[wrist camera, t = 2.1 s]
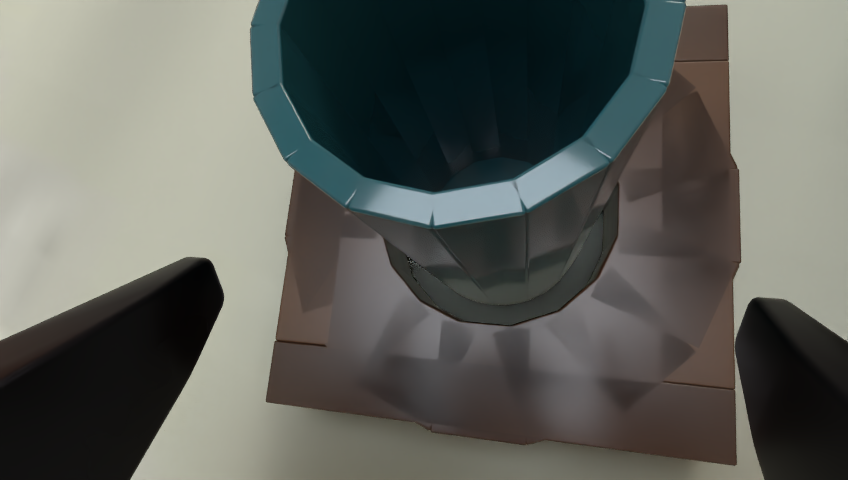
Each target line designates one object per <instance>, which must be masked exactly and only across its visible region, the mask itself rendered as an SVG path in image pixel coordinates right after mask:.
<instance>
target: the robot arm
mask: <svg viewBox="0 0 848 480" xmlns="http://www.w3.org/2000/svg"><path fill="white" fill-rule="evenodd" d="M223 302H224V293H223V289H222V287H221V284H220V282H219V279H218V276H217V274H216V271H215V268H214V266H213V264H212V262H211V261H210V260H209V259H206V258H198V257H186V258H183V259H181V260H179V261H177V262H174V263H172V264H170V265H168V266H165V267H163V268H161V269H159V270H157V271H154V272H152V273H150V274H148V275H145V276H143V277H141V278H139V279H137V280H134V281H132V282H130V283H128V284H125V285H123V286H121V287H119V288H117V289H114V290H112V291H110V292H108V293H105V294H103V295H101V296H99V297H97V298H94V299H92V300H90V301H88V302H85V303H83V304H81V305H79V306H77V307H74V308H72V309H70V310H68V311H65V312H63V313H61V314H59V315H57V316H54V317H52V318H50V319H48V320H45V321H43V322H41V323H39V324H37V325H34V326H32V327H30V328H28V329H25V330H23V331H21V332H19V333H17V334H14V335H12V336H10V337H8V338H5V339H3V340H1V341H0V480H130V479H131V477H132V475H133V474H134V472H135V470H136V469H137V467H138V465H139V463H140V462H141V460H142V458H143V457H144V455H145V453H146V451H147V450H148V448H149V446H150V445H151V443H152V441H153V439H154V438H155V436H156V434H157V432H158V431H159V429H160V427H161V426H162V424H163V422H164V420H165V419H166V417H167V415H168V414H169V412H170V410H171V408H172V407H173V405H174V403H175V402H176V400H177V398H178V396H179V395H180V393H181V391H182V390H183V388H184V386H185V384H186V382H187V381H188V379H189V377H190V375H191V373H192V371H193V369H194V367H195V365H196V363H197V361H198V358H199V356H200V354H201V352H202V350H203V347H204V345H205V343H206V341H207V339H208V337H209V334H210V332H211V330H212V328H213V326H214V323H215V321H216V319H217V317H218V315H219V312H220V310H221V308H222V305H223ZM735 353H736V358H737V364H738V369H739V374H740V379H741V384H742V389H743V394H744V399H745V404H746V409H747V414H748V419H749V424H750V429H751V434H752V438H753V443H754V447H755V450H756V454H757V457H758V460H759V464H760V467H761V470H762V473H763V476H764V479H765V480H848V342H847V341H845V340H844V339H842V338H841V337H840V336H838V335H837V334H835V333H834V332H832V331H831V330H829V329H828V328H827V327H825V326H824V325H822V324H821V323H819V322H818V321H816V320H815V319H813V318H812V317H811V316H809V315H808V314H806V313H805V312H803V311H802V310H800V309H799V308H797V307H796V306H795V305H793V304H792V303H790V302H788V301H787V300H784V299H775V298H761V297H757V298H754V299H752V300H751V301H750V303H749V304H748V307H747V309H746V312H745V315H744V317H743V320H742V323H741V326H740V328H739V331H738V334H737V337H736V341H735Z"/></svg>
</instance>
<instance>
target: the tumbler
mask: <svg viewBox="0 0 848 480" xmlns="http://www.w3.org/2000/svg"><path fill="white" fill-rule="evenodd" d="M685 1H686V0H259V2H258V5H257V7H256V10H255V13H254V16H253V19H252V21H251V28H250V44H251V68H252V93H253V96H254V98H253V99H254V102H255V104H256V106H257V108H258V110H259V112H260V114H261V116H262V118H263V120H264V122H265V124H266V126H267V128H268V130H269V132H270V133H271V135H272V137H273V139H274V141H275V143H276V145H277V147H278V149H279V151H280V153H281V155H282V157H283V159H284V160H285V161H286V162H287V163H288V165H289V166H290V167H291V168H293V169H294V170H295V171H297V172H298V173H299V174H301V175H302V176H303V177H304V178H306V179H307V180H308V181H310V182H311V183H312V184H314V185H315V186H316V187H317V188H319V189H320V190H321V191H323V192H324V193H325V194H327V195H328V196H329V197H331V198H332V199H333V200H334V201H336V202H337V203H338V204H340V205H341V206H342V207H344V208H345V209H346V210H347V211H349V212H350V213H351V214H353V215H354V216H355V217H357V218H358V219H359V220H361V221H362V222H363V223H365V224H366V225H367V226H369V227H370V228H371V229H373V230H374V231H375V232H377V233H378V234H379V235H381V236H382V237H383V238H385V239H386V240H387V241H389V242H390V243H391V244H393V245H394V246H395V247H396V248H398V249H399V250H400V251H402V252H403V253H404V254H406V255H407V256H408V257H410V258H411V259H412V260H414V261H415V262H416V263H418V264H419V265H420V266H422V267H423V268H424V269H426V270H427V271H428V272H430V273H431V274H432V275H434V276H435V277H436V278H438V279H439V280H440V281H442V282H443V283H444V284H445V285H447V286H448V287H449V288H451V289H452V290H453V291H455V292H456V293H457V294H459V295H460V296H462V297H464V298H468V299H470V300H473V301H476V302H479V303H483V304H488V305H499V306H503V305H513V304H518V303H523V302H526V301H529V300H532V299H534V298H536V297H538V296H540V295H542V294H543V293H545V292H546V291H548V290H549V289H551V288H552V287H553V286H554V285H556V283H558V282H559V280H560V279H561V278H562V277H563V276H564V275H565V273H566V272H567V270H568V269H569V267H570V266H571V264H572V263H573V262H574V260H575V259H576V258H577V256H578V254H579V252H580V250H581V248H582V247H583V245H584V243H585V241H586V239H587V237H588V235H589V234H590V232H591V230H592V228H593V226H594V224H595V223H596V221H597V219H598V217H599V215H600V213H601V211H602V210H603V208H604V206H605V204H606V202H607V200H608V199H609V197H610V195H611V193H612V191H613V189H614V187H615V186H616V184H617V182H618V180H619V178H620V176H621V175H622V173H623V171H624V169H625V167H626V165H627V163H628V162H629V160H630V158H631V156H632V154H633V152H634V151H635V149H636V147H637V145H638V143H639V141H640V139H641V138H642V136H643V134H644V132H645V130H646V128H647V127H648V125H649V123H650V121H651V119H652V117H653V115H654V114H655V112H656V110H657V108H658V106H659V104H660V103H661V101H662V99H663V97H664V95H665V93H666V91H667V88H668V86H669V84H670V80H671V76H672V71H673V66H674V62H675V57H676V53H677V48H678V43H679V39H680V34H681V29H682V25H683V20H684V15H685V11H686V3H685Z"/></svg>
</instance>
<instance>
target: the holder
mask: <svg viewBox="0 0 848 480" xmlns="http://www.w3.org/2000/svg"><path fill="white" fill-rule="evenodd" d="M728 60H729V56H728V6H727V5H704V6H686V11H685V15H684V20H683V25H682V29H681V34H680V39H679V43H678V48H677V53H676V57H675V62H674V66H673V71H672V76H671V80H670V84H669V86H668V88H667V91H666V93H665V95H664V97H663V99H662V101H661V103H660V104H659V106H658V108H657V110H656V112H655V114H654V115H653V117H652V119H651V121H650V123H649V125H648V127H647V128H646V130H645V132H644V134H643V136H642V138H641V139H640V141H639V143H638V145H637V147H636V149H635V151H634V152H633V154H632V156H631V158H630V160H629V162H628V163H627V165H626V167H625V169H624V171H623V173H622V175H621V176H620V178H619V180H618V182H617V184H616V186H615V187H614V189H613V191H612V193H611V195H610V197H609V199H608V200H607V202H606V204H605V206H604V208H603V211H604V222H603V253H602V255H601V257H600V259H599V261H598V263H597V265H596V267H595V269H594V271H593V273H592V275H591V278H590V280H589V282H588V284H587V286H586V287H585V288H584V289H582V290H581V291H580V292H579V293H578V294H576V295H575V296H574V297H573V298H572V299H571V300H569V301H568V302H567V303H566V304H565V305H564V306H562V307H561V308H560V309H559V310H558V311H554V312H551V313H548V314H545V315H542V316H539V317H535V318H532V319H529V320H526V321H523V322H520V323H516V324H513V325H500V324H489V323H478V322H467V321H463V320H461V319H459V318H458V317H456V316H454V315H452V314H450V313H448V312H446V311H444V310H442V309H441V308H439V307H437V306H436V305H435V304H434V302H433V301H432V300H431V299H430V298H429V296H428V295H427V294H426V293H425V292H424V290H423V289H422V288H421V287H420V285H419V284H418V283H417V282H416V281H415V279H414V278H413V277H412V274H411V270H410V267H409V263H408V260H407V257H406V254H404V253H403V252H402V251H400V250H399V249H398V248H396V247H395V246H394V245H393V244H391V243H390V242H389V241H387V240H386V239H385V238H383V237H382V236H381V235H379V234H378V233H377V232H375V231H374V230H373V229H371V228H370V227H369V226H367V225H366V224H365V223H363V222H362V221H361V220H359V219H358V218H357V217H355V216H354V215H353V214H351V213H350V212H349V211H347V210H346V209H345V208H344V207H342V206H341V205H340V204H338V203H337V202H336V201H334V200H333V199H332V198H331V197H329V196H328V195H327V194H325V193H324V192H323V191H321V190H320V189H319V188H317V187H316V186H315V185H314V184H312V183H311V182H310V181H308V180H307V179H306V178H304V177H303V176H302V175H301V174H299V173H298V172H297V171H295V172H294V179H293V186H292V192H291V199H290V205H289V212H288V219H287V225H286V232H285V236H286V237H285V241H286V245H287V249H288V258H287V265H286V272H285V279H284V285H283V292H282V299H281V305H280V312H279V319H278V326H277V332H276V340H277V341H275V342H274V349H273V356H272V363H271V369H270V376H269V383H268V389H267V396H266V402H268V403H276V404H283V405H291V406H298V407H305V408H313V409H320V410H327V411H335V412H342V413H350V414H357V415H364V416H372V417H379V418H386V419H394V420H401V421H409V422H415V423H417V424H418V425H420V426H422V427H423V428H425V429H427V430H431V432H433V433H441V434H448V435H455V436H462V437H469V438H477V439H484V440H491V441H498V442H505V443H513V444H520V445H526V444H527V445H529V444H533V443H536V442H540V441H544V440H549V441H556V442H563V443H571V444H578V445H585V446H593V447H600V448H608V449H615V450H622V451H630V452H637V453H644V454H652V455H659V456H666V457H674V458H681V459H689V460H696V461H703V462H711V463H718V464H725V465H733V466H736V465H737V455H736V404H735V390H733V389H735V359H734V308H733V279H734V277H735V275H736V272H737V270H738V268H739V263H741V237H740V194H739V169H737V165H736V163H735V161H734V159H733V157H732V155H731V153H730V104H729V62H728Z"/></svg>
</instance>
